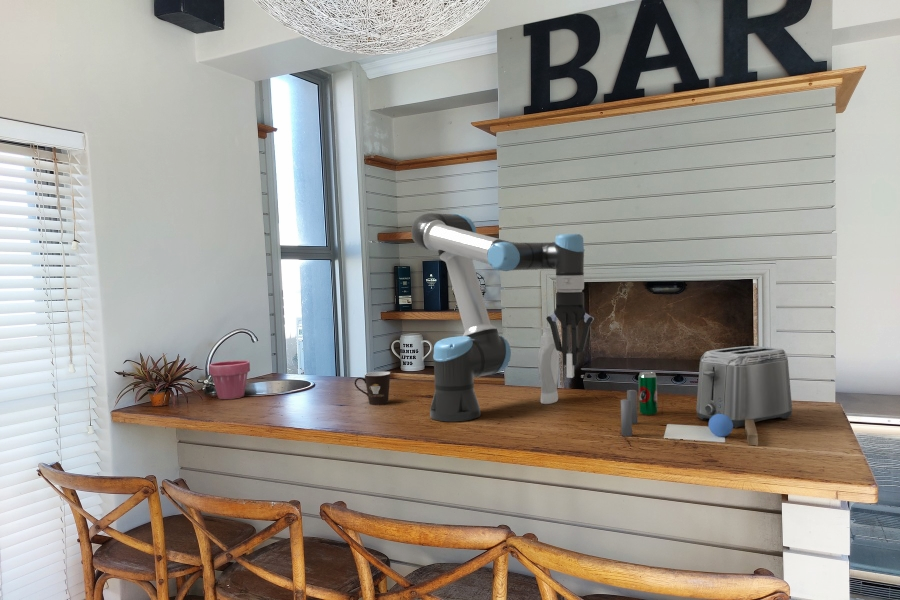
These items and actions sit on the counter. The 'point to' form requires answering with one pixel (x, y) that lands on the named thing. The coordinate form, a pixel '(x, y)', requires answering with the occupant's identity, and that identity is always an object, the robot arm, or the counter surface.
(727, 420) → the ball
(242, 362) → the plant pot
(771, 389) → the toaster
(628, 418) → the post
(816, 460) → the counter surface
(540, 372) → the soap bottle
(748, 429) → the wall
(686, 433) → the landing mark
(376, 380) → the coffee mug
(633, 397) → the post
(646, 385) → the soda can
